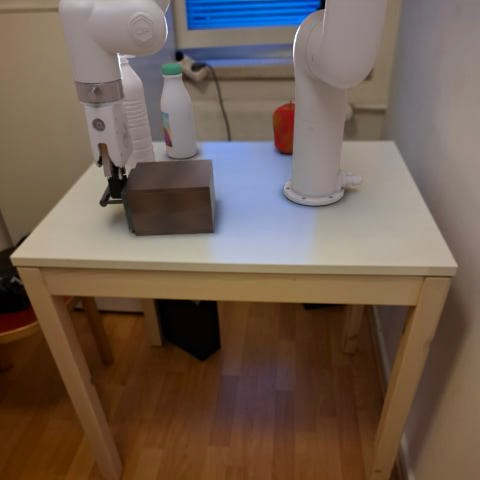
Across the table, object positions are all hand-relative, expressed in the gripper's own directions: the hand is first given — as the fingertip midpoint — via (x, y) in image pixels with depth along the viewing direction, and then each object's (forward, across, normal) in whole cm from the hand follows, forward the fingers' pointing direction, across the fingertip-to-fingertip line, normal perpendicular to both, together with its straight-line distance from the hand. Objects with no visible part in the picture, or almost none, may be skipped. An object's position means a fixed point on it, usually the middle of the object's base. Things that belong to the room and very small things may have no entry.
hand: (120, 196), depth 83 cm
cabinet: (+5, 0, -10) cm, 11 cm away
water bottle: (+5, +19, -1) cm, 20 cm away
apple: (+4, +33, -35) cm, 48 cm away
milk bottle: (+5, +34, -8) cm, 35 cm away
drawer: (+4, 0, -6) cm, 7 cm away
